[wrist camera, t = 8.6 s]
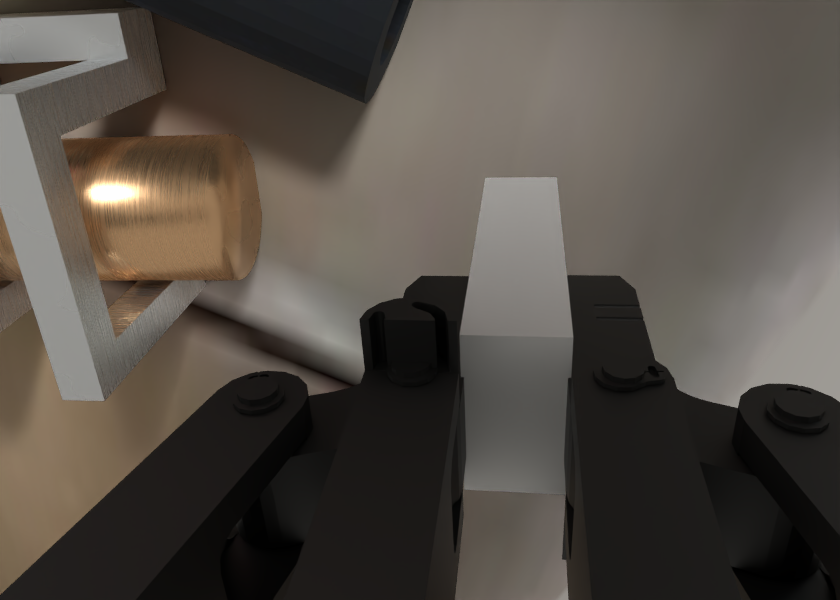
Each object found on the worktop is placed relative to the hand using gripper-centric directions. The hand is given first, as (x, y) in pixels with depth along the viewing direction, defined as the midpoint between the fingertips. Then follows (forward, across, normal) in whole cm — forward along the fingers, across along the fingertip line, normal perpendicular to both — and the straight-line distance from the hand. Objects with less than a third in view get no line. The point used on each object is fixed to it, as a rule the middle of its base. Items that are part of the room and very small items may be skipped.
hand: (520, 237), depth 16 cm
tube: (+7, -15, -1) cm, 16 cm away
